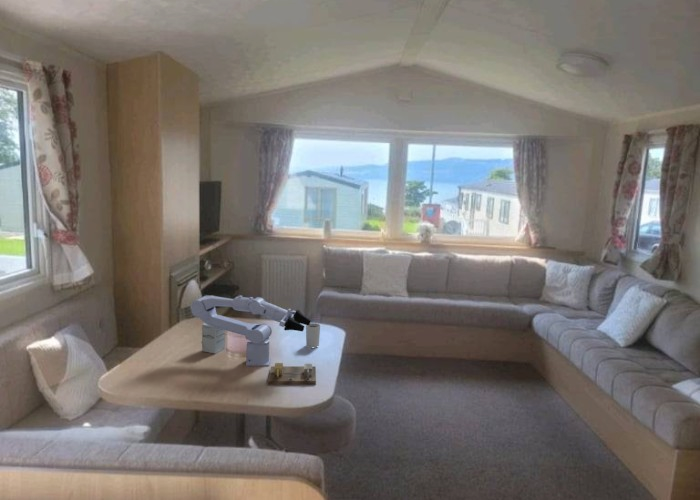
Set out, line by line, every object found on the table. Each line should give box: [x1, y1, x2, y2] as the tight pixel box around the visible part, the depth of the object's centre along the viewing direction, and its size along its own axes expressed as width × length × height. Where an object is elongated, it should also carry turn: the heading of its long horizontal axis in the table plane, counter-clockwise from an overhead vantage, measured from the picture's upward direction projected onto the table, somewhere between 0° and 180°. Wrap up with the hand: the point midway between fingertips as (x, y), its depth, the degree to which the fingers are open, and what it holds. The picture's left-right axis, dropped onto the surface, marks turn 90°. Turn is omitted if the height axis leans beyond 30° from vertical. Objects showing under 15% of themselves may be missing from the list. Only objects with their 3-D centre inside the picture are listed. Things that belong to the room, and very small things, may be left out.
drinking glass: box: [305, 322, 321, 349], centre depth 224 cm, size 7×7×10 cm
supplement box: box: [201, 322, 226, 355], centre depth 214 cm, size 7×7×13 cm
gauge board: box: [267, 363, 317, 386], centre depth 189 cm, size 18×14×4 cm
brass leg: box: [274, 362, 284, 379], centre depth 187 cm, size 3×8×3 cm, turn 5°
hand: (306, 325), depth 196 cm, fingers open, 7 cm apart
